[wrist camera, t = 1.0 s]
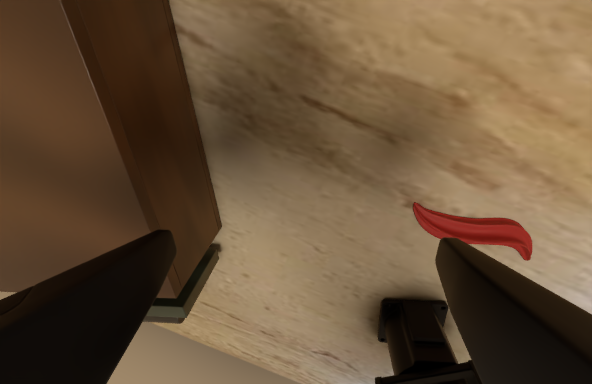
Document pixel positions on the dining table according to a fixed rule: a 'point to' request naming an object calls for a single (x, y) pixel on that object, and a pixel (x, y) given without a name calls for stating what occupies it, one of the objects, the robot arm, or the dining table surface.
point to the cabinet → (96, 139)
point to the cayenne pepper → (476, 230)
